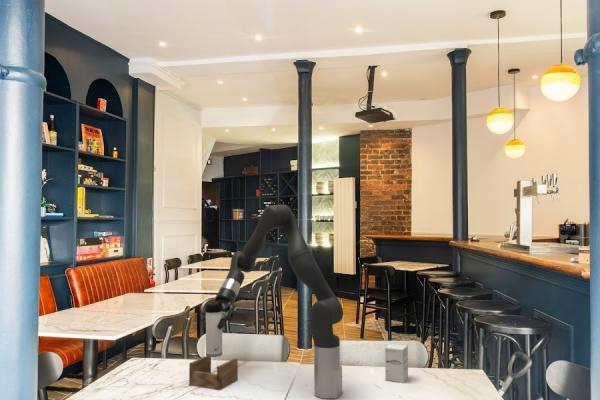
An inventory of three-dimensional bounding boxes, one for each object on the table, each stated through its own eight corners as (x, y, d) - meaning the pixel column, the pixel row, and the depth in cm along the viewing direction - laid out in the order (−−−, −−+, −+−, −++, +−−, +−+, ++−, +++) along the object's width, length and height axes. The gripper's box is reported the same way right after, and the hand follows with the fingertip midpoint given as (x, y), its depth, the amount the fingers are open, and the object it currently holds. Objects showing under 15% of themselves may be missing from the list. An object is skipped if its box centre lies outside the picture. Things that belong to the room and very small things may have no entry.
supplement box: (384, 380, 177) (384, 347, 178) (390, 375, 184) (389, 343, 185) (403, 383, 174) (403, 349, 175) (408, 377, 181) (408, 345, 181)
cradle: (237, 380, 180) (237, 358, 180) (220, 390, 169) (220, 367, 169) (208, 375, 186) (208, 355, 186) (189, 385, 175) (189, 363, 175)
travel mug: (219, 357, 174) (219, 304, 175) (203, 356, 176) (203, 304, 177) (225, 353, 180) (225, 301, 182) (209, 352, 182) (209, 301, 183)
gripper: (210, 286, 189) (192, 320, 178) (239, 287, 183) (223, 323, 172) (217, 297, 194) (200, 331, 182) (246, 298, 188) (231, 334, 176)
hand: (211, 327), depth 177 cm, fingers closed on travel mug, 6 cm apart
